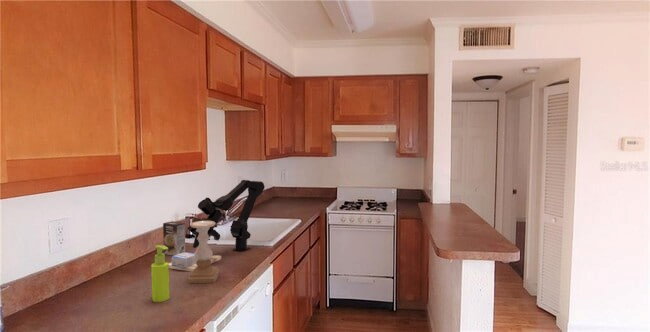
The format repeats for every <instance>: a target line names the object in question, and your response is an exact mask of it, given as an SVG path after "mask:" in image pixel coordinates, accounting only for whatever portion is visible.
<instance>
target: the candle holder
mask: <svg viewBox="0 0 650 332" xmlns="http://www.w3.org/2000/svg"><path fill="white" fill-rule="evenodd" d="M215 224H216V223H215V222H214V221H197V222H193V223H192V222H191V223H190V225H189V226H191V227H193V228H196V229H197V230H198V232H199V235H198V237H197V240H198V241H199V246H198V247H196V249H195V251H194V253H195V258H196V259H198V261H197V262H196V265H197V266H198V267H196V268H195V269H194V270H193V271H192V272H191V273H190V275H189V276H188V278H187V284H213V283H216V281H217V279H218V277H219V275H220V270H219V268H218V267H217V266H212V265H211V260H210V259H209V258H211V257H212V255H214V254H213V250H212V248H211V247H210V246H209V244H208V242H209V241H210V240H209V239H210V238H211V237H209V236H208V230H209V228H210V227H212V226H214V225H215ZM216 225H217V224H216Z"/></svg>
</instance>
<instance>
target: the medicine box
mask: <svg viewBox="0 0 650 332" xmlns="http://www.w3.org/2000/svg"><path fill="white" fill-rule="evenodd" d="M197 261H198V259H196V258H195V252H187V251H185V252H183V253H180V254H178V255H175V256H174V255H171V261H170V263H171V262H172V266H176V267H182V268H187V267H189V266H191V265H194V264H196V262H197Z"/></svg>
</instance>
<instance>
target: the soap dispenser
mask: <svg viewBox="0 0 650 332" xmlns="http://www.w3.org/2000/svg"><path fill="white" fill-rule="evenodd" d="M154 248H155V249H156V252H157V253H156V254H155V255H154V263H152V264H151V265H150V267H151V268H150V269H151V270H150V271H151V273H150V274H151V301H152V302H153V303H163V302H166V301H168V300H169V299H170V271H169V269H170V268H169V263H170V262H167V261H166V256H165V255H166V254H164V252H163V251H164V250H166V249H168V247H166V246H164V244H163V245H161V244H159V245H154Z"/></svg>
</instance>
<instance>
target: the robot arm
mask: <svg viewBox="0 0 650 332" xmlns="http://www.w3.org/2000/svg"><path fill="white" fill-rule="evenodd" d="M265 187H266V186H265V184H264V182H263V181H259V180H248V179H242V180H241V181H240V183H238V184H237V185H236V186H235V187H233V189H231V190H230V191H229V192H228V193H227V194H225V195H222V196H220V197H219V198H217V199H216V200H214V201H212V200H211V198H210V197H205V198H204V199H203V200H201V201H200V202H198V204H197V208H198V209H199V210H200V211H201V212H202V214H204V215H205V216H207V217H202V218H199V217H198V218H197V217H193V219H192V221H191V223H193V222H197V221H214V222H215V223H216V224H215V225H214V226H212V227H210V228H209V230H208V236H209V237H210V238H211V237H213V240H214V241H220V239H221V234H220V233H219V232H217V230H216V229H215V228H217V227H218V225H217V224H218V223H219V222H220V219H221V218H222V219H226V214H225V212H227V211H229V210H230V209H231V207H232V206H233V205H234V201H235V200H237V199H238V198H239V197H240V196H241V195H242V194H243V193H244V192H245V191H246V190H247V193H248V195H247V197H246V199H245V201H244V204H243V207H242V209H241V212H240V214H239V216H238V218H237V219H236V220H235V219H233V220H232V223H231V225H230V230H229V231H230V234H231V236H232V238H235V247H234V248H233V251H241V252H244V251H246V250H248V249H250V246H248V240H249V239H250V238H251V235H252V234H251V233H250V232H249V230H248V227H249V225H248V221H249V219H250V215H251V214H252V212H253V211H252V210H253V209H254V206H255V203H256V201H257V199H258V198H259V196H261V195H262V193H263V192H264V190H265ZM222 211H225V212H222ZM187 230H188V231H189V232H190V233H191V234H192V235H194V241H193V244H192V248H193V249H197V248H198V246H199V241H198V240H197V237H198V235H199V232H198V230H197V229H196V228H193V227H191V226H190V225H189V226H188V227H187ZM210 238H209V240H208V241H210V240H211V239H210Z"/></svg>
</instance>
